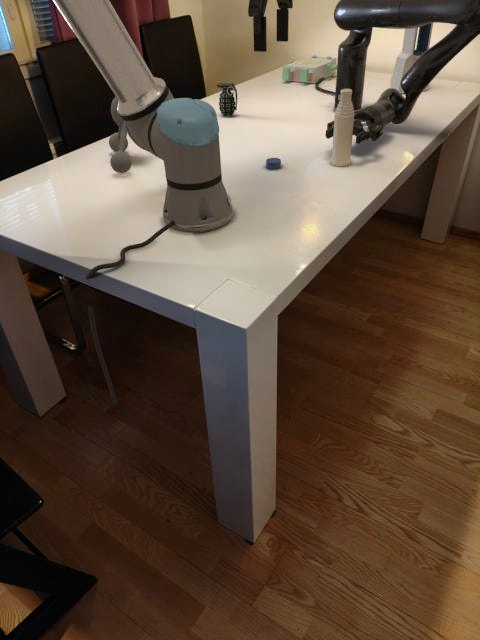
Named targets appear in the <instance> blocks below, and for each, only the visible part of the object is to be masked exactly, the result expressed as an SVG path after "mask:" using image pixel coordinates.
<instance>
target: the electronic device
mask: <svg viewBox="0 0 480 640" xmlns="http://www.w3.org/2000/svg"><path fill="white" fill-rule="evenodd" d="M433 28H434V23H429V24H426V25H424V26H422V27H418V28H413V29H404V34H403V40H402V41H403V42H402V48H401V51H400V53H399V54H398V55H397V56H396V59H395V64H394V67H393V70H392V74H391V78H390V80H389V81H390V88H394V89H396V90H397V91H398V92H399V93H400V94H401V95H402V94H405V93H404V91H403V89H402V87H401V84H400V81H401V79H402V77H403V76H404V75H405V74H406V72H407V71H408V70H409V69H410V67H411V66H412V65H413V64H414V62H415V61H416V60H417V59H418V58H419V57H420V56H421V55H422V54H423V53H424V52H426V51H427V50H428V49H429V48H430V45H431V40H432V39H431V38H432V34H433ZM428 88H430V84H429V85H428V86H427V87H426V88H425V89H424V90H423V92H425V91H427V90H428Z"/></svg>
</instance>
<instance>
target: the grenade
mask: <svg viewBox="0 0 480 640" xmlns="http://www.w3.org/2000/svg"><path fill="white" fill-rule="evenodd" d="M215 87H217V88H219V89H221V93H219V97H218V101H219V102H218V106H219V108H218V109H219V112H220V114H221V115H222V116H224V117H231V116H233V115H234V113H235V112H236V111H237V108H238V89H237V87H236V85H235V84H234V83H233V82H218V83H217V84H216V86H215ZM232 91H233V92H232ZM234 94H235V96H234Z"/></svg>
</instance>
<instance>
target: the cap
mask: <svg viewBox="0 0 480 640" xmlns="http://www.w3.org/2000/svg"><path fill="white" fill-rule="evenodd" d="M281 167H282V158H281V159H280V158H279V157H269V158H266V159H265V168H266V169H268V170H278V169H281Z"/></svg>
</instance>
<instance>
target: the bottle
mask: <svg viewBox="0 0 480 640" xmlns="http://www.w3.org/2000/svg"><path fill="white" fill-rule="evenodd" d="M351 97H352V90H351V89H342V90H341V91H340V101H339V104H338V107H337V109H336V111H334V119H333V121H334V132H333V137H332V147H331V148H332V149H331V160H330V163H331V164H332V166H336V167H346V166H349V165H350V164H351V155H352V145H353V136H354V135H353V124H354V114H355V113H354V110H353V109H354V108H353V104H352V101H351Z"/></svg>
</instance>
